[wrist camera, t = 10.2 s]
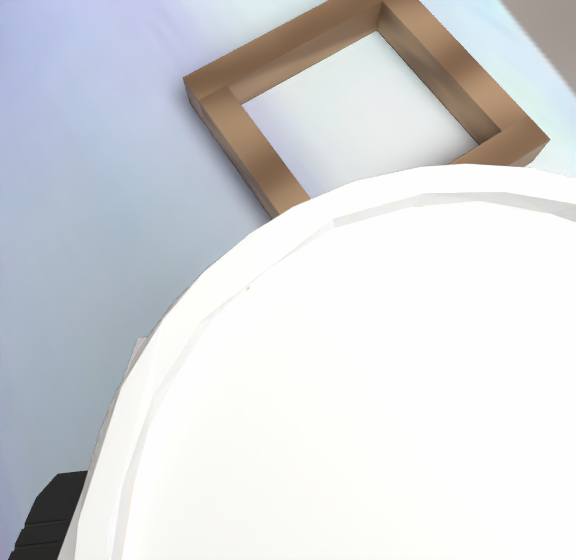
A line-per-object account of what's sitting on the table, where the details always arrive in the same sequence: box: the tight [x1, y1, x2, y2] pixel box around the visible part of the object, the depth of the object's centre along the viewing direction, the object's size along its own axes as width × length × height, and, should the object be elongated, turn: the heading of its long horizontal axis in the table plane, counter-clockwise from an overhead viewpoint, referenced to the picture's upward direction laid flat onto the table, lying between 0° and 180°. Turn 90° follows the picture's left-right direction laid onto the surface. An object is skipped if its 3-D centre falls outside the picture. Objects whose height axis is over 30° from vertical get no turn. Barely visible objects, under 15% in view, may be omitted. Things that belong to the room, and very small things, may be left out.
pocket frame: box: [183, 0, 550, 220], centre depth 33 cm, size 16×16×2 cm
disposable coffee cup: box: [74, 164, 576, 560], centre depth 11 cm, size 10×10×12 cm
